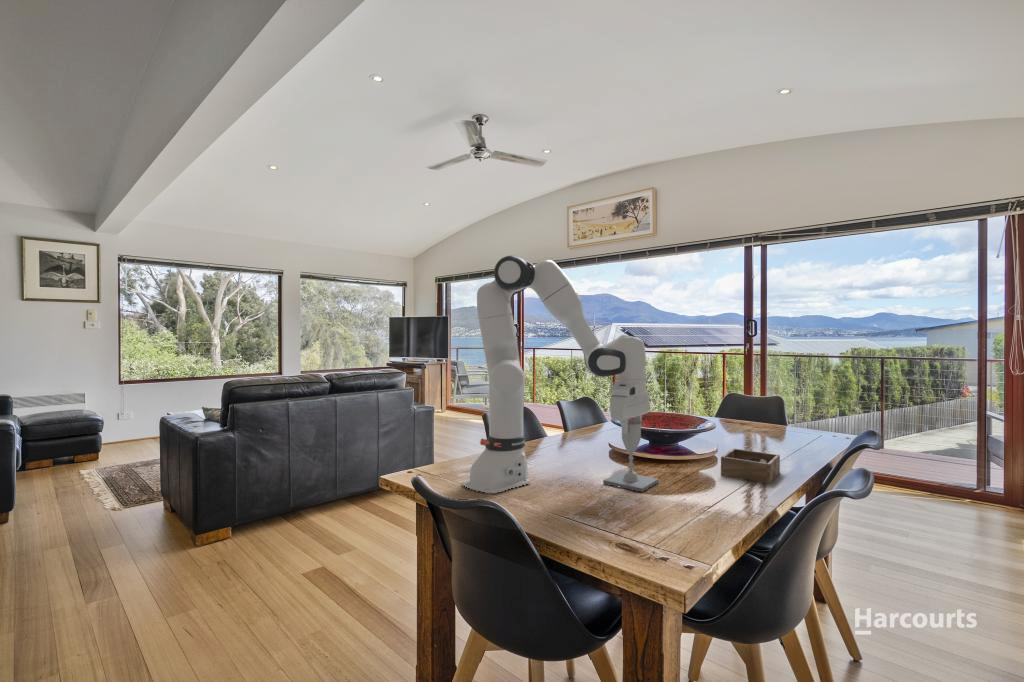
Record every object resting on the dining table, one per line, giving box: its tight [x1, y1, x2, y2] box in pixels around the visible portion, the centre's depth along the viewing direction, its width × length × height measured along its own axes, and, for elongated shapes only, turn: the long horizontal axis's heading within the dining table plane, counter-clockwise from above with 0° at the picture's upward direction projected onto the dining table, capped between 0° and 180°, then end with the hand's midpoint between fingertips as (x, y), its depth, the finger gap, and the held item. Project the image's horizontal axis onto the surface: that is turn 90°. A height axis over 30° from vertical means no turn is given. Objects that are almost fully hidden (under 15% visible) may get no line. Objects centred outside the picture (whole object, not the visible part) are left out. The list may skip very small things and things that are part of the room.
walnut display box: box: [720, 448, 781, 484], centre depth 162 cm, size 15×15×6 cm
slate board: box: [602, 470, 660, 493], centre depth 152 cm, size 12×13×1 cm
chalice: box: [621, 419, 643, 482], centre depth 152 cm, size 7×7×18 cm
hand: (631, 431), depth 152 cm, fingers closed on chalice, 6 cm apart
